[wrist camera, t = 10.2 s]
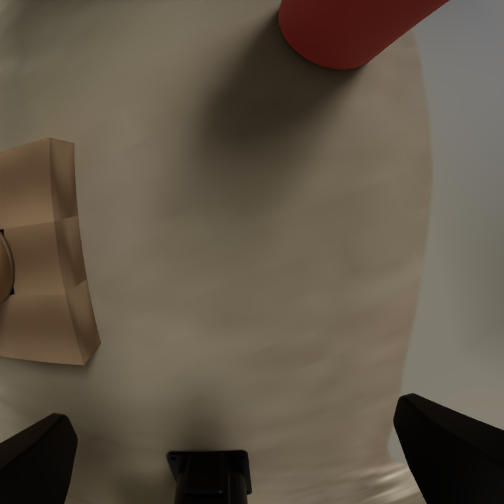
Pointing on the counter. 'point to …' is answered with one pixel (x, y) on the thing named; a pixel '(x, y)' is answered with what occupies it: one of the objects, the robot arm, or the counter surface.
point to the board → (44, 257)
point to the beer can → (348, 27)
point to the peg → (6, 268)
